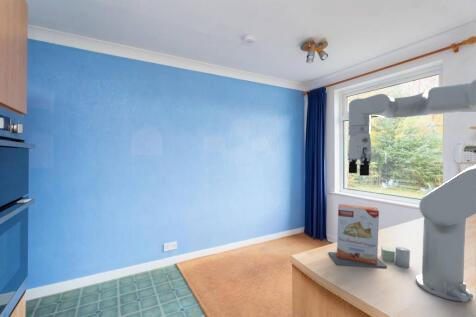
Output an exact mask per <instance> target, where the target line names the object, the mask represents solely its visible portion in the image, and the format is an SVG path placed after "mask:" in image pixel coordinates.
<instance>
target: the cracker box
mask: <svg viewBox="0 0 476 317" xmlns="http://www.w3.org/2000/svg"><path fill="white" fill-rule="evenodd" d="M337 209H338V210H337V236H336V237H337V242H336V244H337V245H336V252H337V257H339V258H344V259H349V260H354V261H359V262H364V263H368V264H373V265H377V258H379V257H378V254H379V253H378V249H379V248H378V246H379V223H380V222H379V219H380V210H378V207H371V206H361V205H355V204H354V205H353V204H346V203H345V204H344V203H338V207H337Z"/></svg>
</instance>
